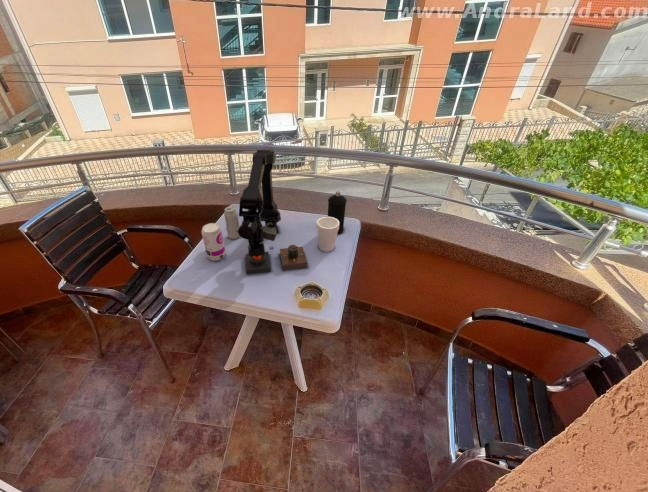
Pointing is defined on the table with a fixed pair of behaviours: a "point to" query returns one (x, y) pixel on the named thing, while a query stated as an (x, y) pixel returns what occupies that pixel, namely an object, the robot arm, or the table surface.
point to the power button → (257, 257)
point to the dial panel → (293, 259)
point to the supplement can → (213, 241)
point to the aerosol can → (337, 209)
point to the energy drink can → (232, 222)
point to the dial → (293, 251)
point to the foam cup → (327, 232)
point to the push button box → (258, 264)
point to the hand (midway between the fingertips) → (257, 256)
